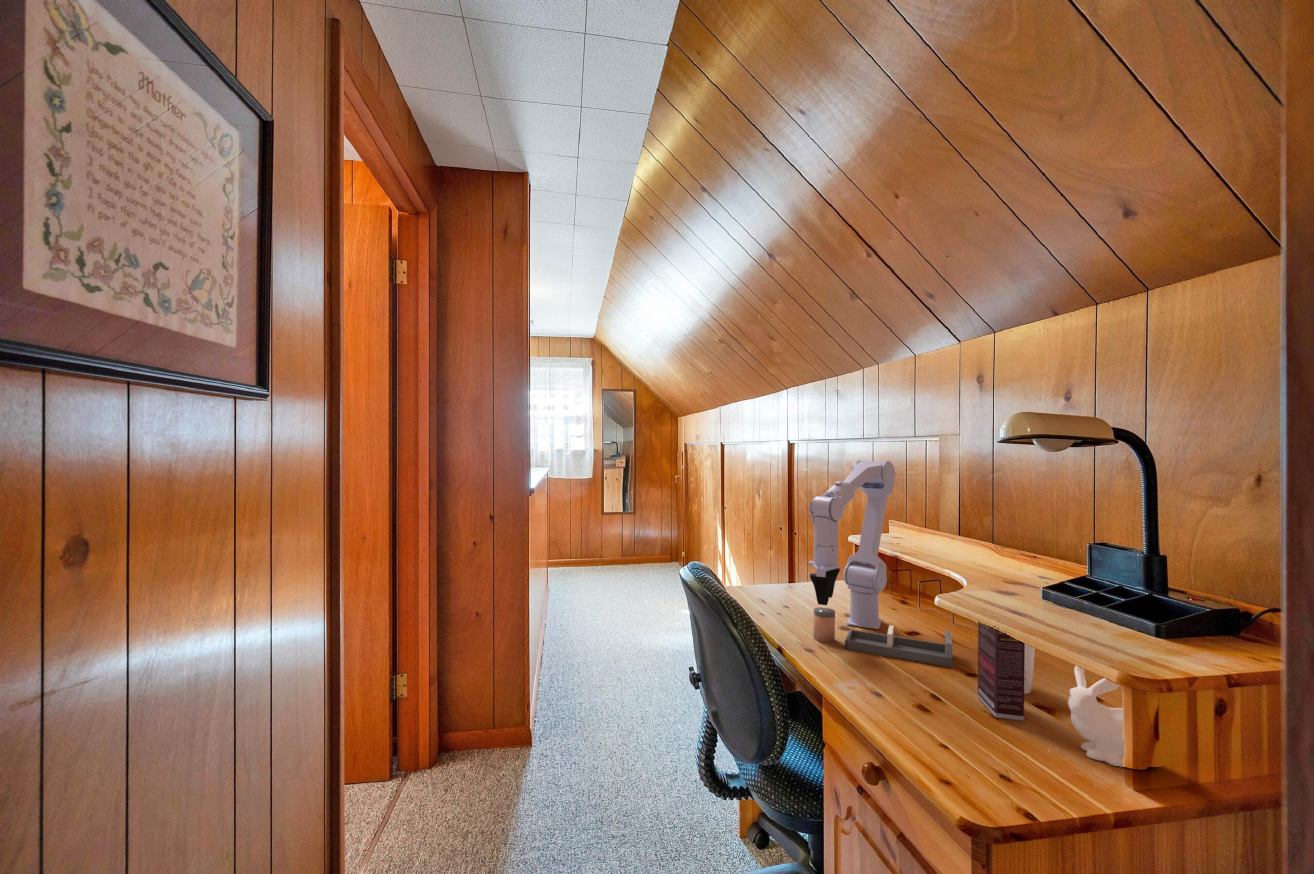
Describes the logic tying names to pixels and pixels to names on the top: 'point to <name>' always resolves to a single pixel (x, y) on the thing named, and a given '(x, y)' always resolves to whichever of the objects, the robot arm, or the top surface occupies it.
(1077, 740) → the top surface
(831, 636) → the jar
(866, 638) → the tray
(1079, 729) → the rabbit
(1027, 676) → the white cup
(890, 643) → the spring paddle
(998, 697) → the supplement box
